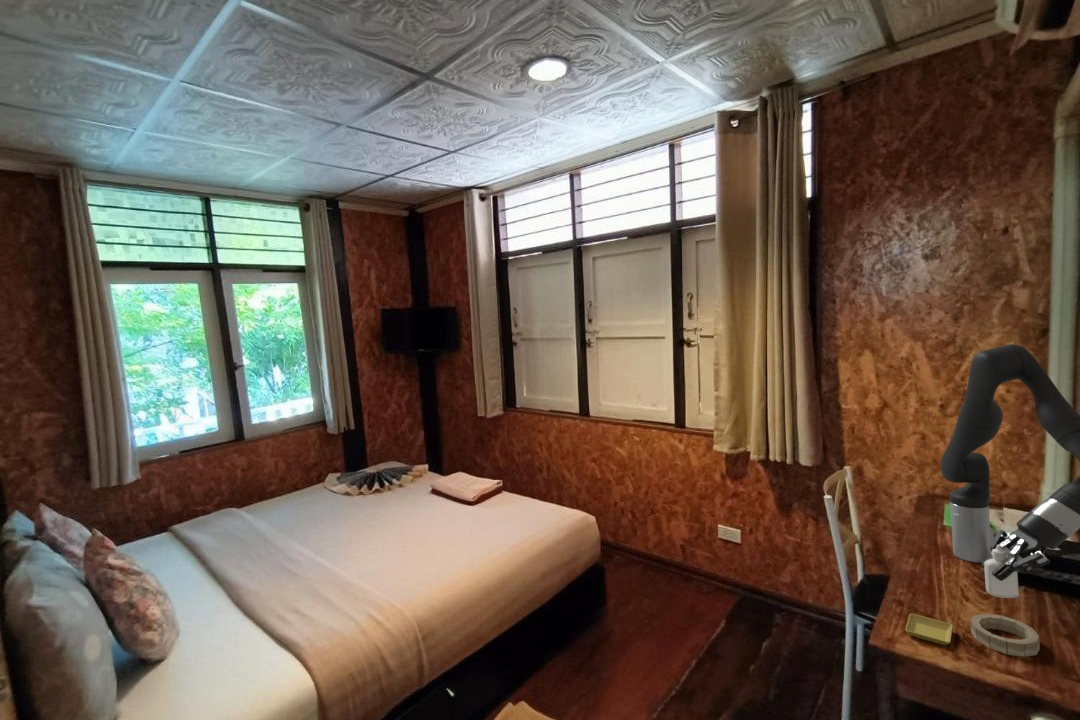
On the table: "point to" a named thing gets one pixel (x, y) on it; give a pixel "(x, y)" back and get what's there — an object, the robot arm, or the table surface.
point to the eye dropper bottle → (995, 586)
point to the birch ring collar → (1004, 645)
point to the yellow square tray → (929, 629)
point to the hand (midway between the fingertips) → (990, 573)
